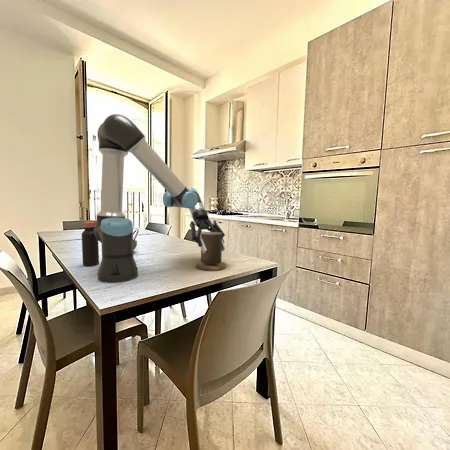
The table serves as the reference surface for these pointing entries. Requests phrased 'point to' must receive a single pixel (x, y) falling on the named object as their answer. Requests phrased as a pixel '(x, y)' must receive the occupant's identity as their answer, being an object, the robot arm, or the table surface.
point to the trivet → (211, 266)
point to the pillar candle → (212, 247)
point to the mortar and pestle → (134, 244)
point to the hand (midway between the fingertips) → (214, 250)
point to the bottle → (90, 245)
